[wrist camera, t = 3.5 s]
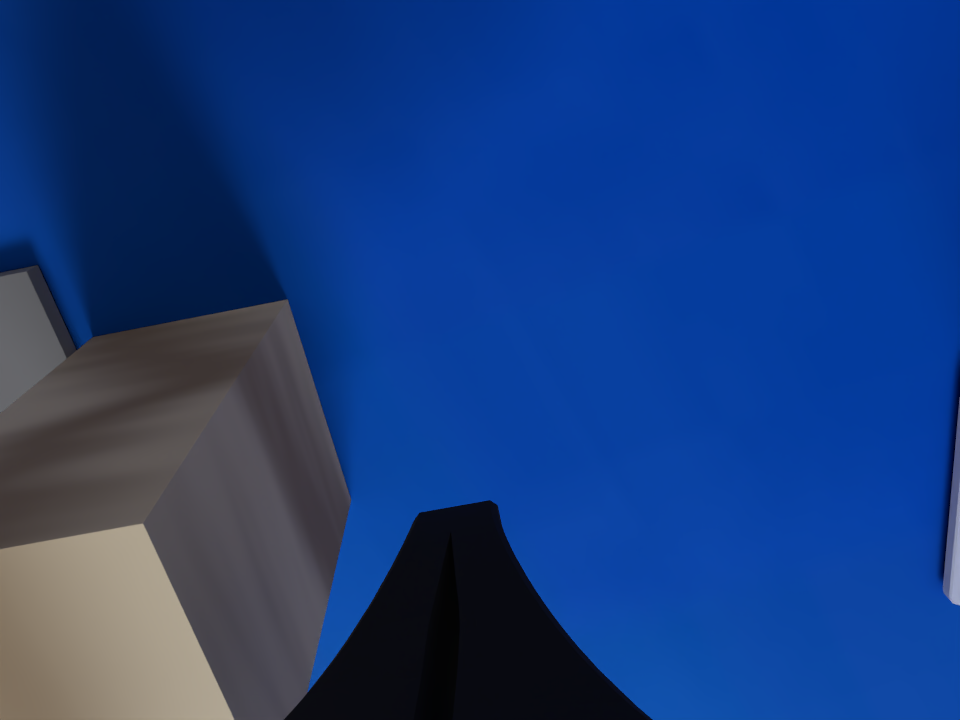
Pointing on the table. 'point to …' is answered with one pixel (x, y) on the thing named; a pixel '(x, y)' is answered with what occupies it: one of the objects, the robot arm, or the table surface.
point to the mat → (28, 333)
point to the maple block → (168, 525)
